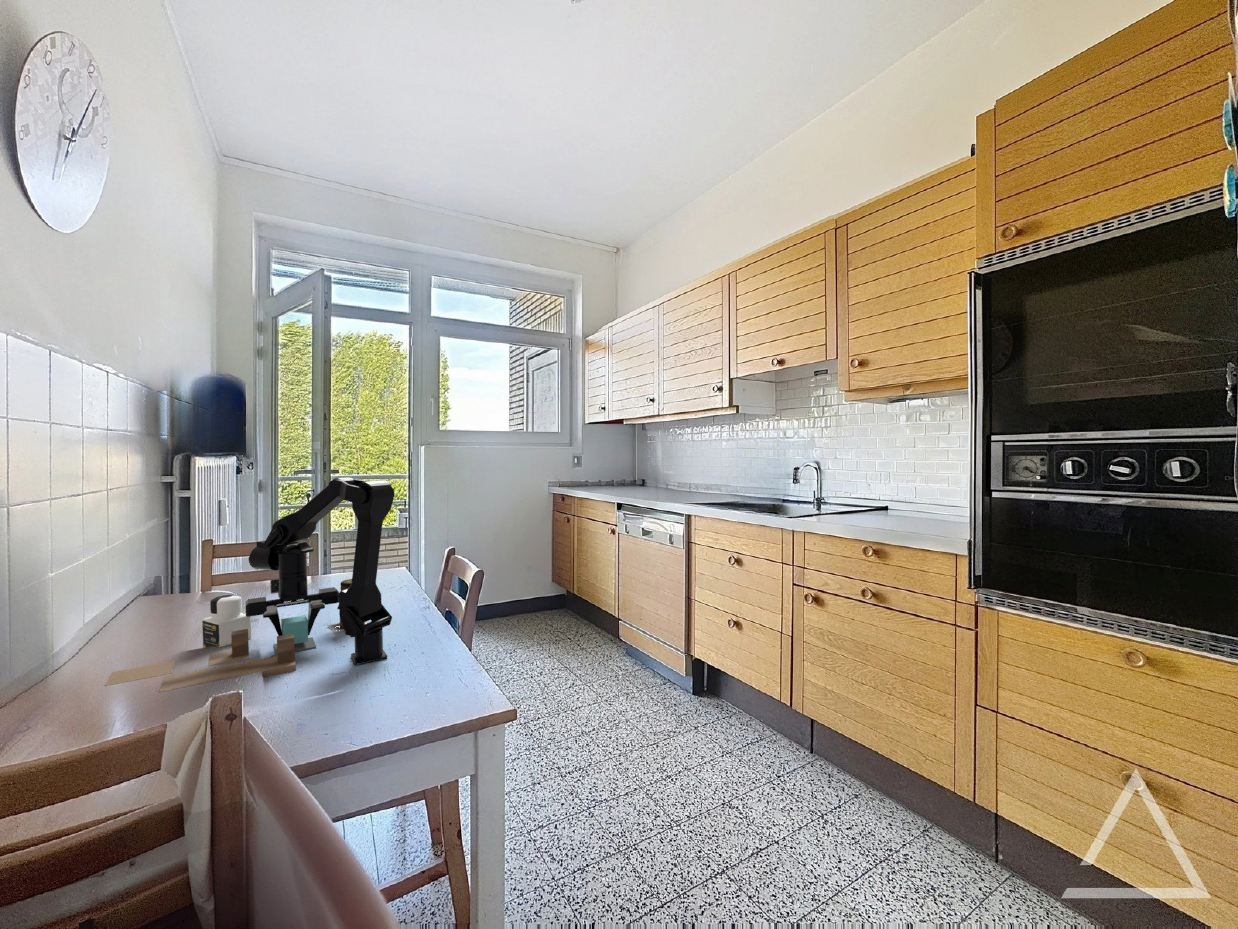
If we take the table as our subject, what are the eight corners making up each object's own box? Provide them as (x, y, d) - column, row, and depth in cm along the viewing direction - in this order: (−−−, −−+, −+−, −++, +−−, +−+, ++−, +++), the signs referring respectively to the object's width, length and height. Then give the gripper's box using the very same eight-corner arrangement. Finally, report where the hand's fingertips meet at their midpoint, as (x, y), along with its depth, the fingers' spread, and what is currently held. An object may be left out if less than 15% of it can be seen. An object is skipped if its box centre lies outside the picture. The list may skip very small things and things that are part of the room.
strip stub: (249, 663, 118) (248, 635, 117) (208, 671, 114) (207, 642, 113) (248, 652, 124) (247, 625, 124) (210, 659, 120) (209, 632, 120)
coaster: (316, 649, 127) (316, 646, 127) (275, 657, 122) (275, 654, 122) (312, 639, 133) (312, 637, 133) (273, 646, 129) (273, 644, 129)
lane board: (219, 690, 105) (218, 682, 105) (67, 722, 93) (67, 714, 93) (221, 656, 123) (221, 650, 122) (93, 680, 110) (93, 673, 110)
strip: (296, 670, 114) (295, 640, 114) (159, 698, 101) (158, 665, 101) (292, 658, 121) (292, 630, 120) (164, 683, 108) (163, 652, 108)
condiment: (370, 625, 144) (369, 580, 143) (335, 633, 138) (334, 586, 137) (360, 619, 149) (359, 576, 149) (327, 626, 143) (325, 581, 143)
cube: (308, 641, 127) (307, 620, 127) (283, 646, 124) (282, 624, 124) (306, 635, 131) (305, 615, 131) (281, 640, 128) (281, 619, 128)
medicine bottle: (202, 648, 128) (200, 598, 127) (235, 639, 134) (234, 591, 134) (218, 654, 124) (217, 602, 124) (252, 644, 131) (250, 594, 130)
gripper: (332, 560, 139) (334, 621, 140) (244, 570, 128) (246, 636, 129) (339, 568, 130) (341, 632, 130) (244, 579, 119) (246, 650, 120)
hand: (294, 637), depth 128 cm, fingers open, 5 cm apart
